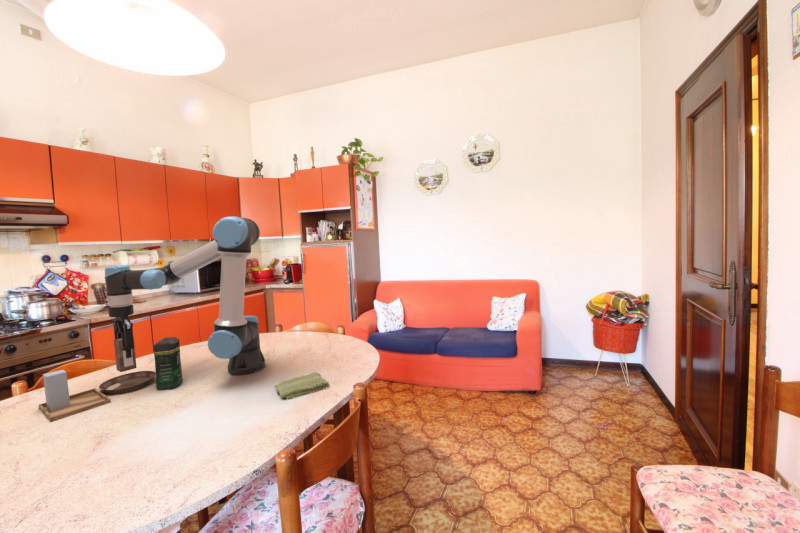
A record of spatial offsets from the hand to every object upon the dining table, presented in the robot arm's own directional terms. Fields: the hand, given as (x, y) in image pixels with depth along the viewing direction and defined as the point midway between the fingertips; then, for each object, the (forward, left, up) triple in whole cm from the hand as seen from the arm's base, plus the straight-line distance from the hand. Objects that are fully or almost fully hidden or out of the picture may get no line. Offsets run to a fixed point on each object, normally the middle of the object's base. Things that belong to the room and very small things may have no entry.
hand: (126, 364), depth 135 cm
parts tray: (-4, +16, -9) cm, 19 cm away
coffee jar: (-14, -9, -9) cm, 19 cm away
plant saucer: (0, 0, -9) cm, 9 cm away
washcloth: (-61, -34, -9) cm, 71 cm away
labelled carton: (0, 0, -2) cm, 2 cm away
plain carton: (0, +20, -8) cm, 22 cm away
